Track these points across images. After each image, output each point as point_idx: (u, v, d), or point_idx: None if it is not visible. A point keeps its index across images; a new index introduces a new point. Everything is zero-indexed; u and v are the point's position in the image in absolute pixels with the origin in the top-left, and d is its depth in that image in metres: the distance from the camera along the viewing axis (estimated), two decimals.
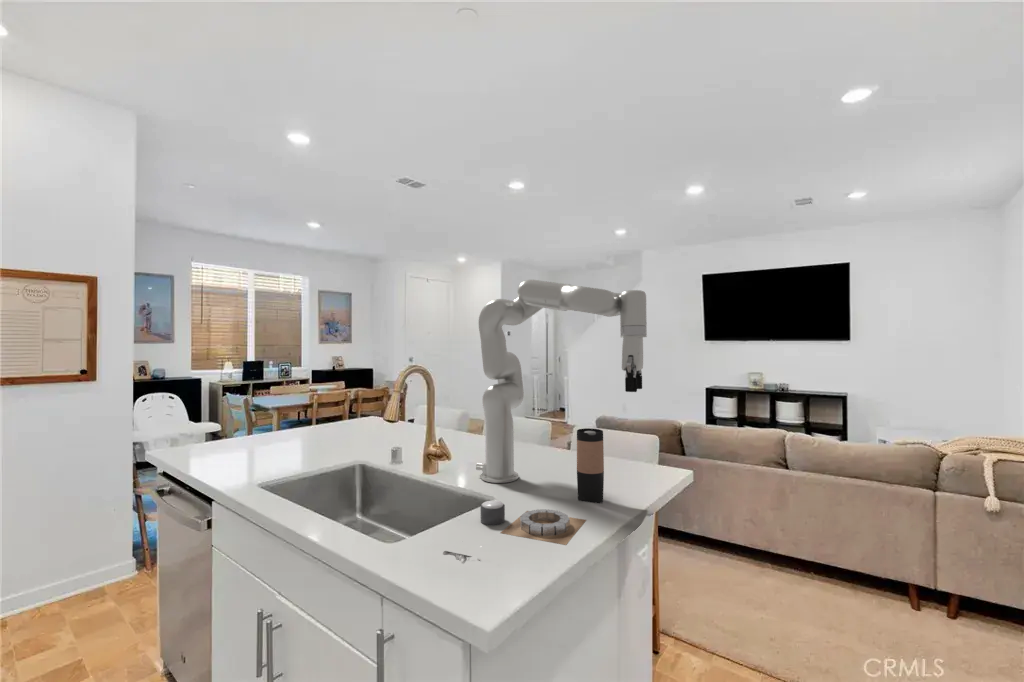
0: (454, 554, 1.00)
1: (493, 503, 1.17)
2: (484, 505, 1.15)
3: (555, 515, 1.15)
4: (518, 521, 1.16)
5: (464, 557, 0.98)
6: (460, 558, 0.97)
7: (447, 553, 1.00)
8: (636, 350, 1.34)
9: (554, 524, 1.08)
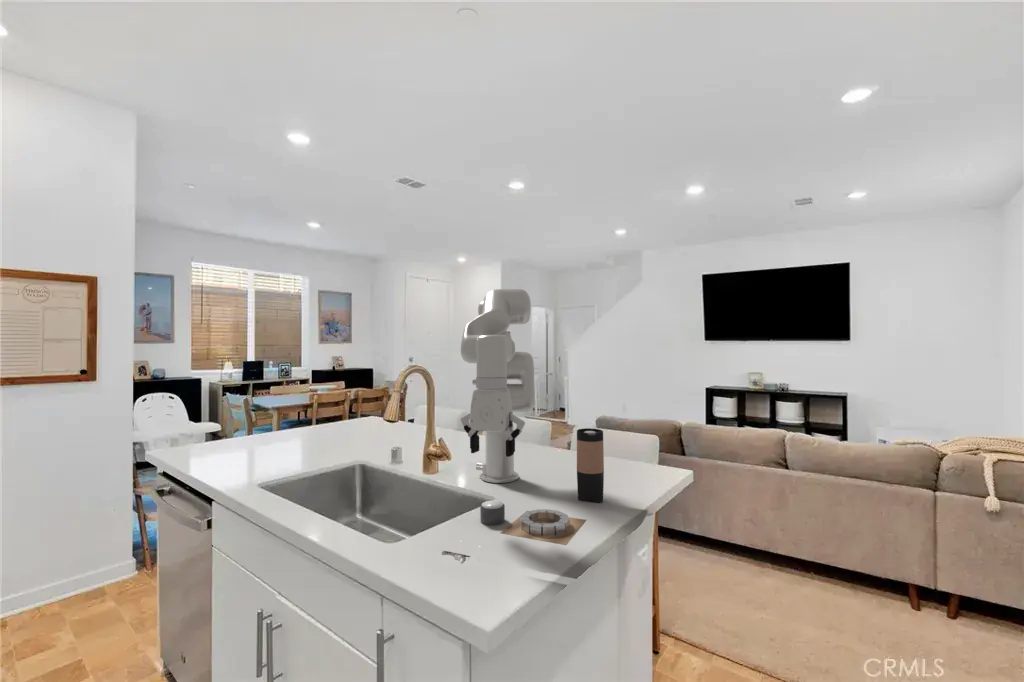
0: (453, 554, 1.00)
1: (493, 503, 1.17)
2: (484, 505, 1.15)
3: (555, 515, 1.15)
4: (518, 521, 1.16)
5: (463, 557, 0.98)
6: (459, 558, 0.97)
7: (446, 553, 1.00)
8: (511, 406, 1.16)
9: (554, 524, 1.08)
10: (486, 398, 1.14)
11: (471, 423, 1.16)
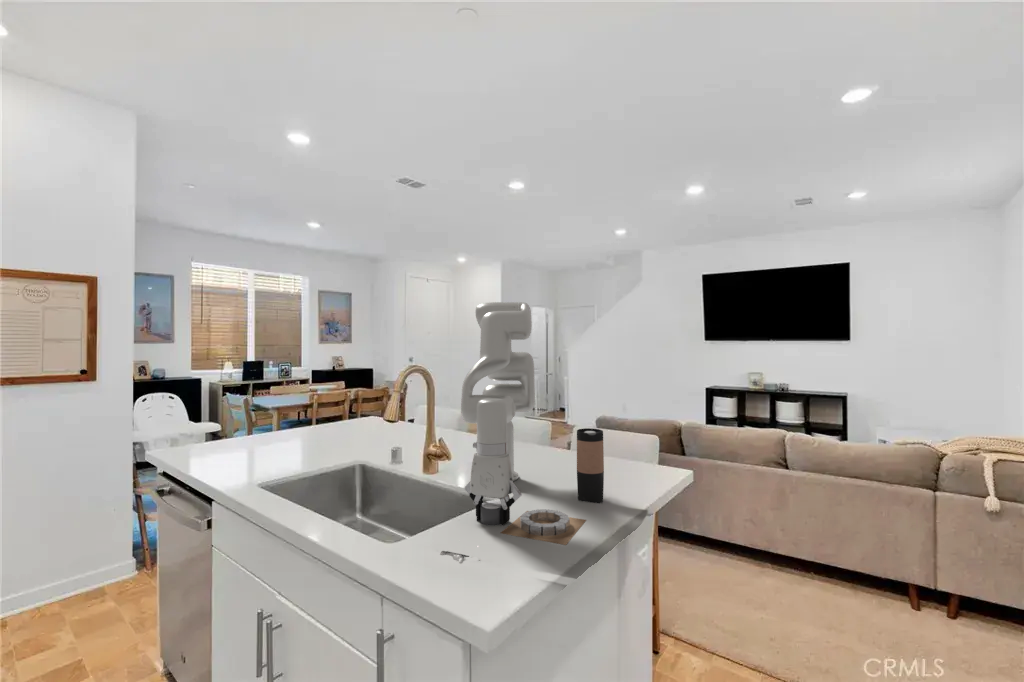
0: (451, 554, 0.99)
1: (493, 503, 1.17)
2: (484, 505, 1.15)
3: (555, 515, 1.15)
4: (518, 521, 1.16)
5: (462, 557, 0.98)
6: (458, 558, 0.97)
7: (444, 553, 1.00)
8: (512, 470, 1.16)
9: (554, 524, 1.08)
10: (486, 463, 1.14)
11: (471, 488, 1.16)
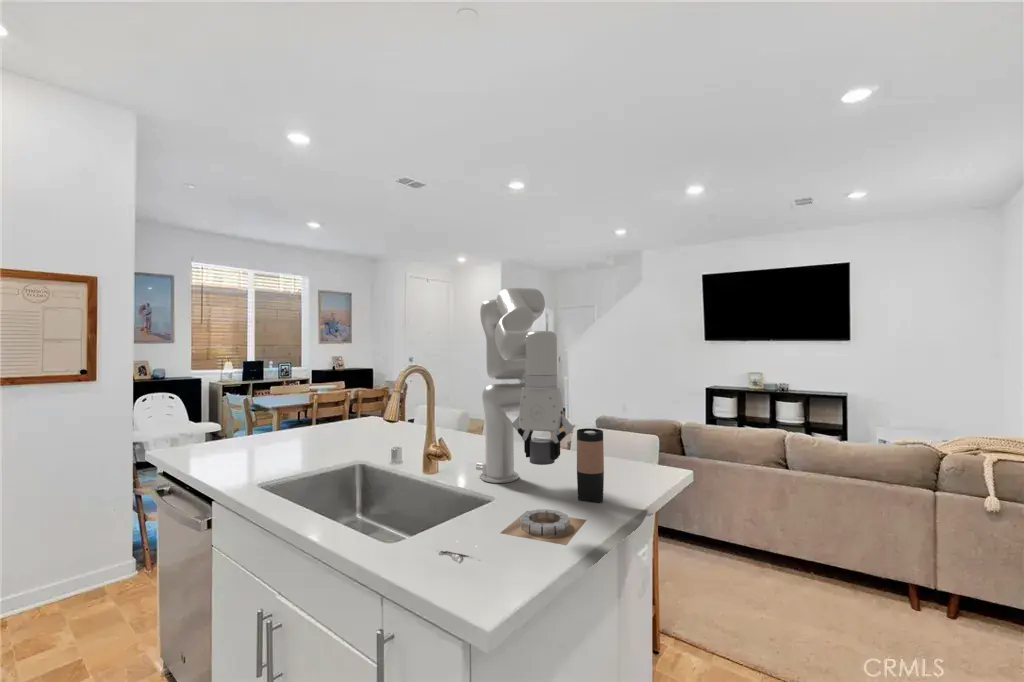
0: (450, 554, 0.99)
1: (542, 438, 1.13)
2: (534, 440, 1.12)
3: (555, 515, 1.15)
4: (518, 521, 1.16)
5: (460, 557, 0.98)
6: (456, 558, 0.97)
7: (443, 553, 1.00)
8: (562, 404, 1.12)
9: (554, 524, 1.08)
10: (537, 396, 1.10)
11: (520, 422, 1.12)
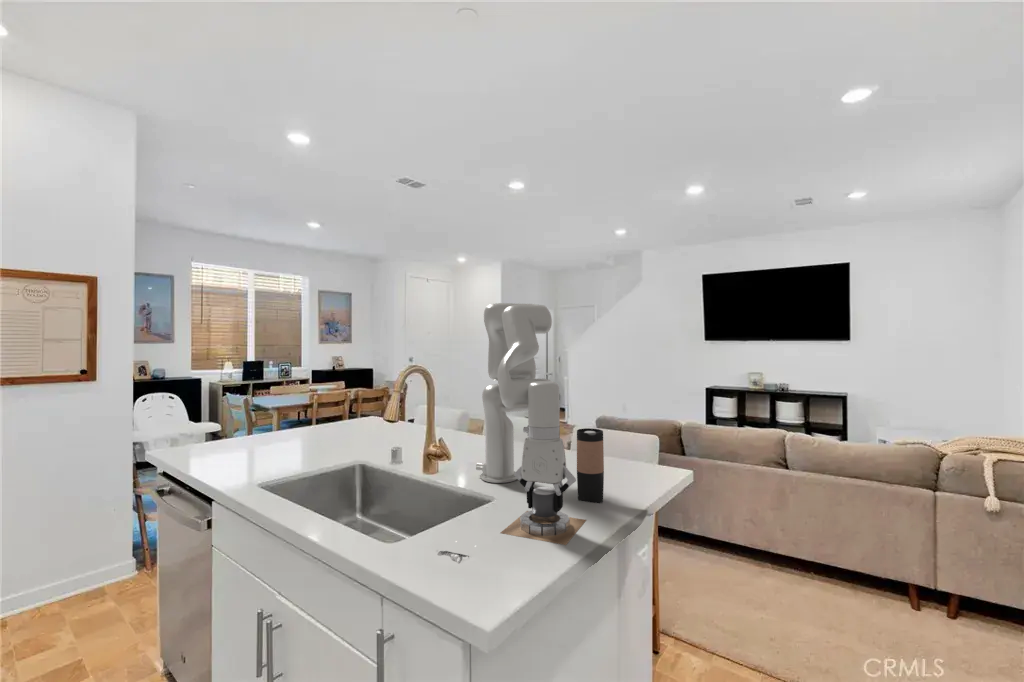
0: (449, 554, 0.99)
1: (544, 489, 1.13)
2: (536, 491, 1.11)
3: (555, 515, 1.15)
4: (518, 521, 1.16)
5: (459, 557, 0.98)
6: (456, 558, 0.97)
7: (442, 553, 1.00)
8: None
9: (554, 524, 1.08)
10: (539, 448, 1.10)
11: (523, 473, 1.12)
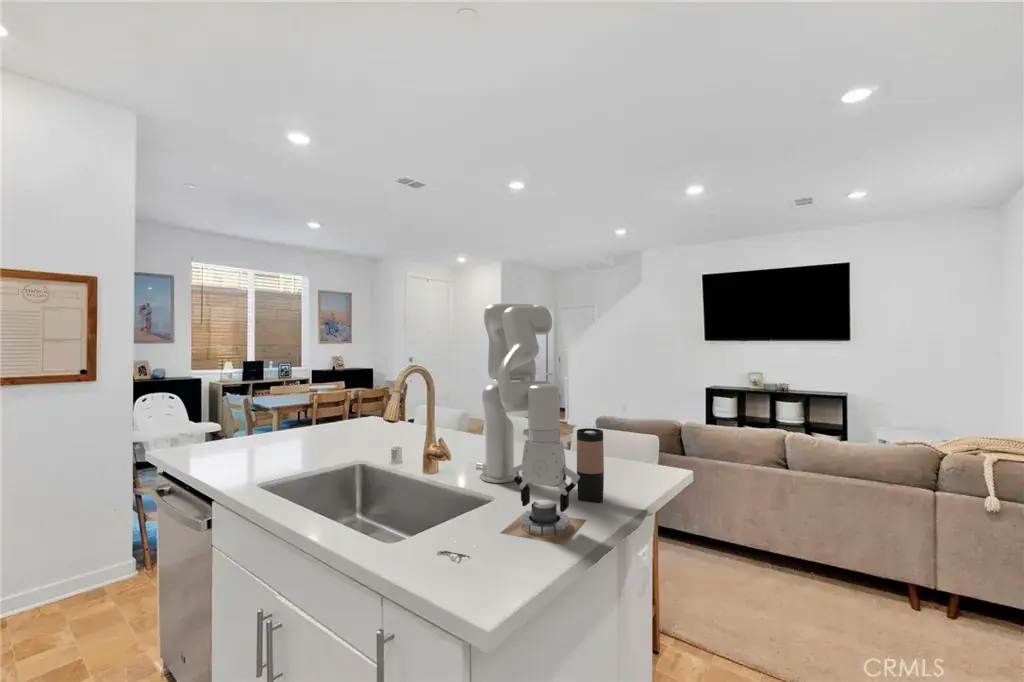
0: (448, 554, 0.99)
1: (544, 502, 1.13)
2: (536, 505, 1.12)
3: None
4: (518, 521, 1.16)
5: (459, 557, 0.98)
6: (455, 558, 0.97)
7: (441, 554, 1.00)
8: None
9: (554, 524, 1.08)
10: (539, 451, 1.10)
11: (523, 476, 1.12)
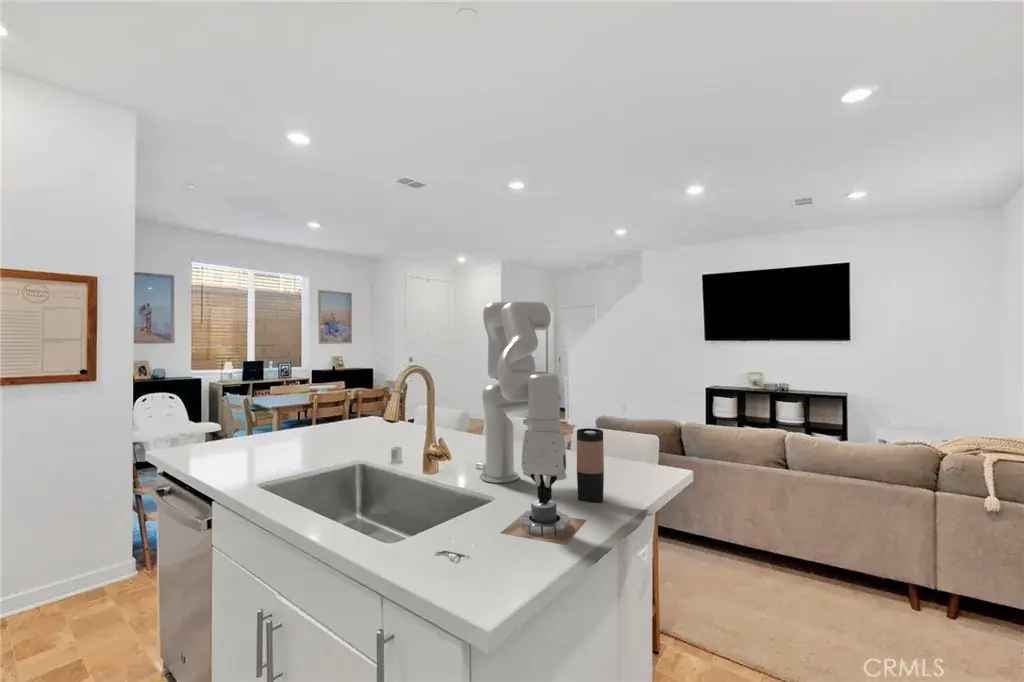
0: (446, 555, 0.99)
1: None
2: (535, 504, 1.12)
3: None
4: (518, 521, 1.16)
5: (457, 557, 0.98)
6: (453, 558, 0.97)
7: (439, 554, 1.00)
8: None
9: (554, 524, 1.08)
10: (539, 440, 1.10)
11: (523, 465, 1.12)
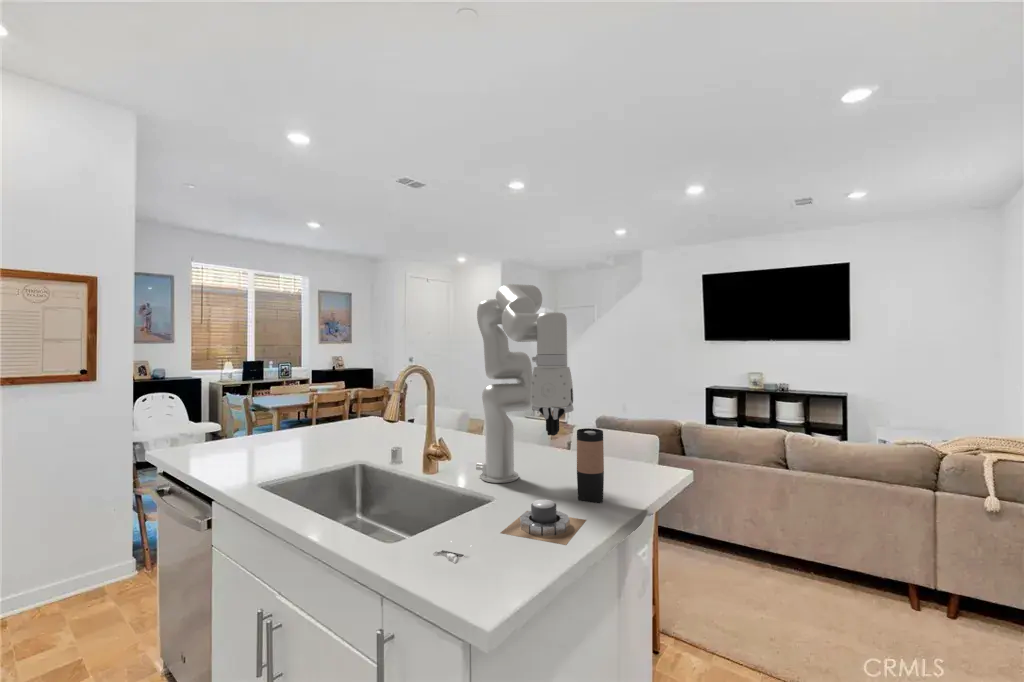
0: (445, 555, 0.99)
1: (544, 502, 1.13)
2: (535, 504, 1.12)
3: None
4: (518, 521, 1.16)
5: (456, 557, 0.98)
6: (452, 558, 0.97)
7: (437, 554, 1.00)
8: None
9: (554, 524, 1.08)
10: (548, 374, 1.16)
11: (532, 399, 1.18)
